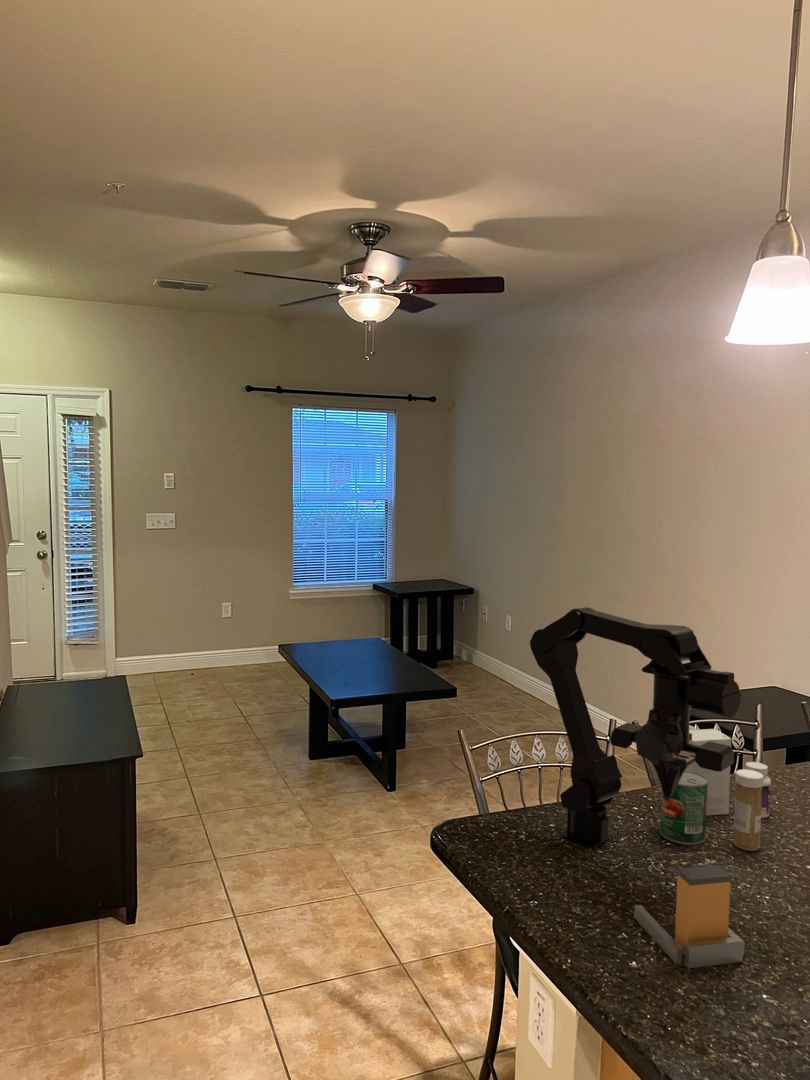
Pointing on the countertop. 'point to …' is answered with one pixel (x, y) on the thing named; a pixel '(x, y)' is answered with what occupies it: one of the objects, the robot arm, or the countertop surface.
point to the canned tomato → (685, 810)
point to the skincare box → (713, 772)
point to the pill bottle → (765, 788)
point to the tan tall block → (702, 904)
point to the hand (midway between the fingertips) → (668, 796)
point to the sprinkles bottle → (748, 809)
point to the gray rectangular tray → (693, 945)
